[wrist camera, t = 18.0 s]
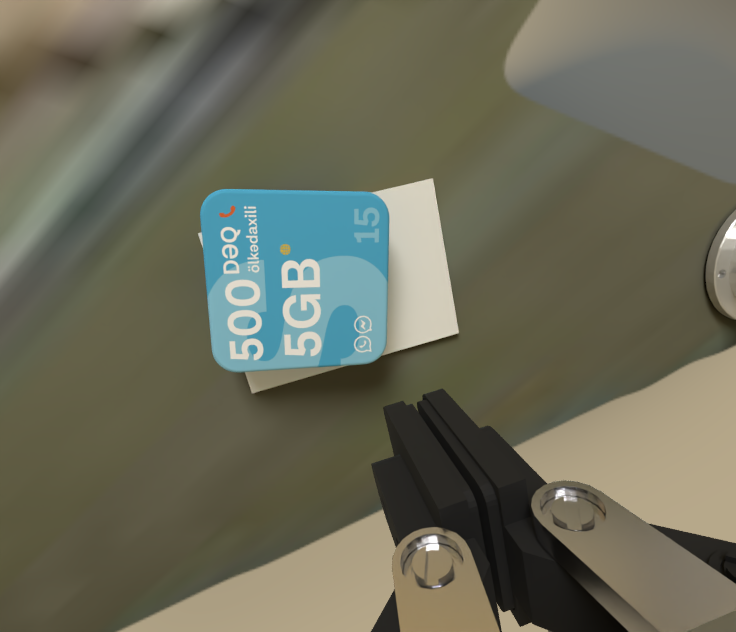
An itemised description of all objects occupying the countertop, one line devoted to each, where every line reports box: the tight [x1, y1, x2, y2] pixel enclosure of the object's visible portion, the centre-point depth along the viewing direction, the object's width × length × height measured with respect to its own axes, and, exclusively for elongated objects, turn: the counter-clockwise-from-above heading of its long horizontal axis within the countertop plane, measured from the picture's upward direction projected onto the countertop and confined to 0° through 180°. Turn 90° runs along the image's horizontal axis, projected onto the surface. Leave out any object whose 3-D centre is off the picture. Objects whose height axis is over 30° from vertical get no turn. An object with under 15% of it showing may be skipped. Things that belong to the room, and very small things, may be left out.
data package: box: [200, 189, 389, 372], centre depth 29 cm, size 12×4×12 cm
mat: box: [198, 179, 459, 393], centre depth 33 cm, size 18×13×1 cm
